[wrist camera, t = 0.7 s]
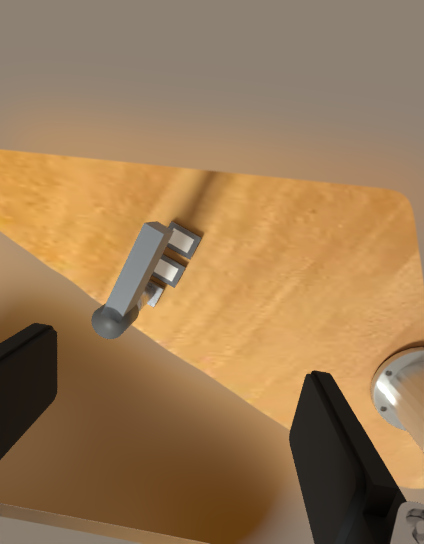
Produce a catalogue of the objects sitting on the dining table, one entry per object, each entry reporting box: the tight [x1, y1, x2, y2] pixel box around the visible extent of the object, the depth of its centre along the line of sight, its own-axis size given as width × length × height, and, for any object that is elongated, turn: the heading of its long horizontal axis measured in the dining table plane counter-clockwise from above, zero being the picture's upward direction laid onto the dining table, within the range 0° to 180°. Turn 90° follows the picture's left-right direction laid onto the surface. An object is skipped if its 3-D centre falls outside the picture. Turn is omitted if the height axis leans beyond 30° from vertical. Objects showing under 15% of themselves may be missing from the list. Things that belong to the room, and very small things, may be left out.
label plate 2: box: [152, 254, 186, 288], centre depth 35 cm, size 4×3×1 cm
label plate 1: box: [167, 221, 202, 259], centre depth 34 cm, size 4×3×1 cm
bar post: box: [137, 279, 164, 311], centre depth 33 cm, size 4×3×7 cm
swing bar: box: [92, 221, 174, 339], centre depth 26 cm, size 3×12×4 cm, turn 151°
